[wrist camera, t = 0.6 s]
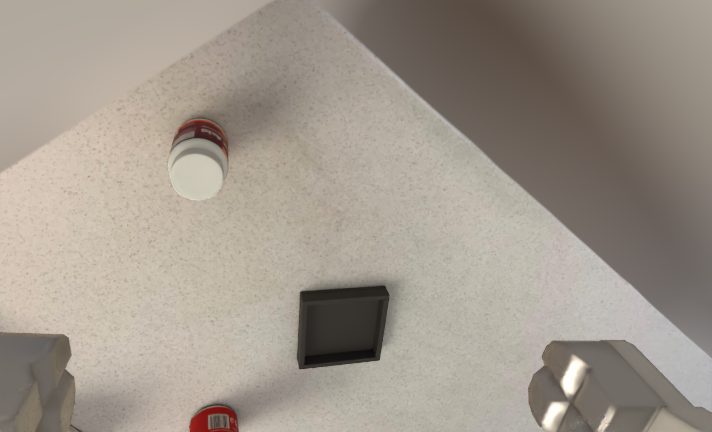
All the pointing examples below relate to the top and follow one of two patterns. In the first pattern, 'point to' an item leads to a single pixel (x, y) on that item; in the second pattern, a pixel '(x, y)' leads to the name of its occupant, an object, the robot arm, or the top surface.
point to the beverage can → (214, 420)
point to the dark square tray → (341, 326)
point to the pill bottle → (198, 159)
